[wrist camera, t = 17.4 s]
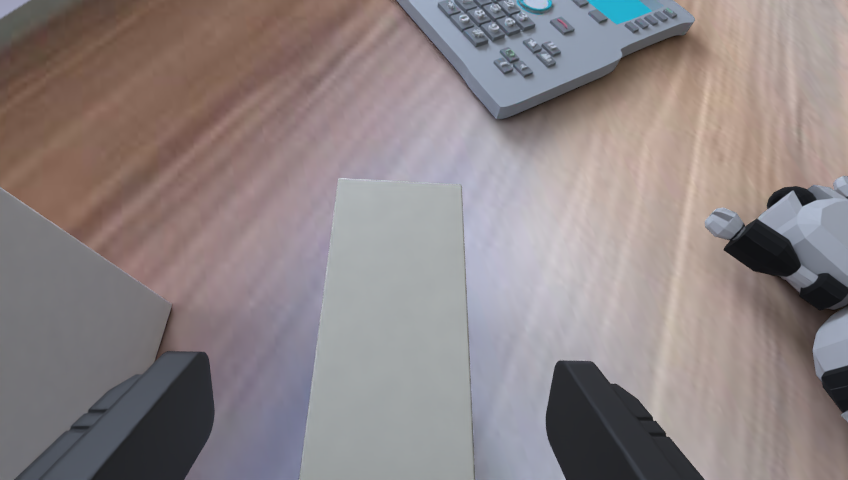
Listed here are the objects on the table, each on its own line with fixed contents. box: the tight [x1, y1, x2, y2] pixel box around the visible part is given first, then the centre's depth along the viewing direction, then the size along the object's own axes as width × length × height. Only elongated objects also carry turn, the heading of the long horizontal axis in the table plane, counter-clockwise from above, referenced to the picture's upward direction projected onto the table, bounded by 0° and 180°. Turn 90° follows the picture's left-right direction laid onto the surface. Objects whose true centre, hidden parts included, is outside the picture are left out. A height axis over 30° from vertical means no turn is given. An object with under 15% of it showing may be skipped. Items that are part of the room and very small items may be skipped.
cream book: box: [299, 178, 475, 480], centre depth 13 cm, size 3×8×11 cm, turn 0°
